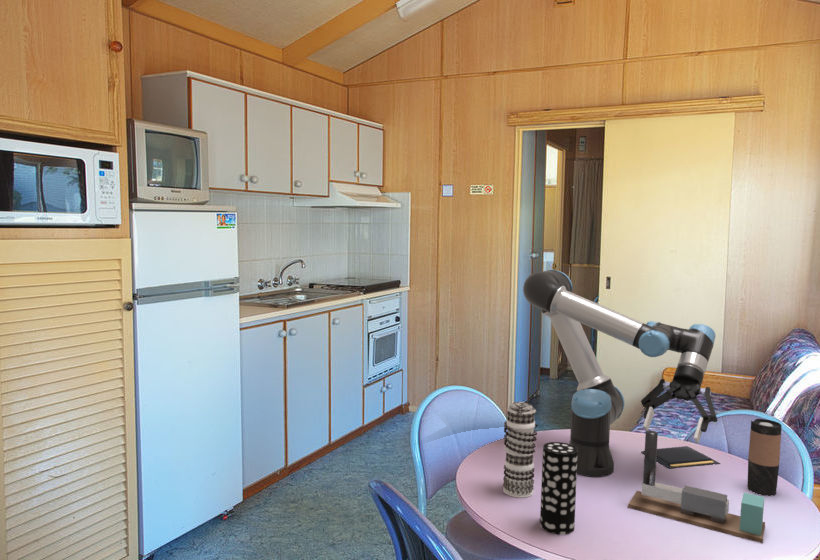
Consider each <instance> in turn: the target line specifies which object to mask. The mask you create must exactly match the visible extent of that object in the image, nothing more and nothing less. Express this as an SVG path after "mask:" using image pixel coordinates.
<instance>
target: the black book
mask: <svg viewBox="0 0 820 560" xmlns="http://www.w3.org/2000/svg"><path fill="white" fill-rule="evenodd" d="M640 454H641V455H644V454H645V450H643V451H641V452H640ZM657 462H658V463H657ZM656 463H657V464H659V465H660V466H662V465H663V467H664V468H666V469H668V470H672V469H681V468H691V467H702V466H713V464H715V465H721V462H718V461H717V460H715V459H714V458H711V457H710V456H708V455H705V453H701V452H700V451H698V450H696V449H694V448H692V447H690V446H688V445H685V446H675V447H662V448H657V456H656Z"/></svg>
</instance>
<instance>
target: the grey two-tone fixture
mask: <svg viewBox="0 0 820 560" xmlns="http://www.w3.org/2000/svg"><path fill="white" fill-rule="evenodd" d="M658 435H659V434H658V432H657V431H656V430H648V431H645V438H644V451H645V454H643V456H644V457H643V458H644V459H643V472H642V473H643V474H642V475H643V476H642V477H643V479H642V483H641V494H642V495H646V496H650V497H654V498H658V499H662V500H666V501H670V502H674V503H678V504H681V498H682V490H683V488H681V487H676V486H673V485H668V484H665V483H660V482H656V472H657V462H656V456H657V449H658ZM729 506H730V499H728V498H727V500H726V504H725V515H726V516H727V514H728V513H729V510H730V509H729Z"/></svg>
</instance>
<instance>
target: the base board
mask: <svg viewBox="0 0 820 560" xmlns="http://www.w3.org/2000/svg"><path fill="white" fill-rule="evenodd" d="M641 491H642V490H641ZM641 491H640V490H636V491H635V492H634V495H633V496H632V497H631V499H630V500H629V502H628V503H627V508H629V509H632V510H637V511H641V512H644V513H647V514H651V515H655V516H658V517H663V518H666V519H670V520H673V521H678V522H681V523H685V524H688V525H693V526H695V527H696V526H697V527H700V528H704V529H708V530H712V531H716V532H719V533H724V534H728V535H731V536H735V537H739V538H741V539H746V540H750V541H753V542H757V543H761V544H763V541H764V535H765V529H766V522H765V521H763V524H762V531H761V536H760V535H756V534H752V533H748V532H744V531H740V516H741V515H737V514H732V513H730V512H728V514H727V516H726V519H725V522H724V524H720V523H716V522H712V521H711V516H708V515H704V514H700V513H696V512H695V513H694V516H689V515H685V514H681V504H678V503H674V502H670V501H666V500H662V499H658V498H654V497H650V496H646V495H642V494H641Z"/></svg>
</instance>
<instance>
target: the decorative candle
mask: <svg viewBox="0 0 820 560" xmlns="http://www.w3.org/2000/svg"><path fill="white" fill-rule="evenodd" d="M506 411H507V414H506V417H507V418H506V420H505V421H504V423H503V432H504V433H505V434H504V438H503V439H504V441H503V444H504V446H505V447H504V452H506V453H505V460H504V461H505V462H504V463H505V464H504V465H503V469H504V470H503V475H504V476H503V479H502V480H503V482H502V483H503V485H502V486H503V488H502V489H503V493H505V495H507V496H510V497H512V498H513V497H514V498H520V499H524V498H529V497H532V496H533V495H534V490H535V488H534V487H535V486H534V484H535V480H534V478H535V468H534V463H535V462H534V455H535V453H536V449H535V448H536V447H537V444H536V443H534V442H536V441H537V437H536V436H537V435H538V432H537V431H536V430H534V429H536V428H537V427H538V424H536V421H535V418H536V417H535V413H537V410H536V409H535V408H534V407H533V405H532V404H531V403H528V402H524V401H515V402H512V403H511V404H510V405H509V406H507V407H506Z"/></svg>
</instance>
